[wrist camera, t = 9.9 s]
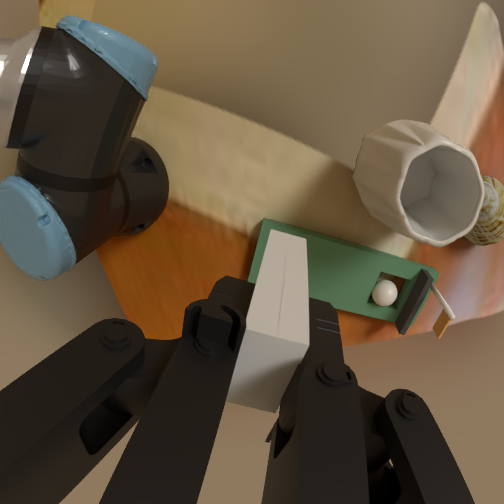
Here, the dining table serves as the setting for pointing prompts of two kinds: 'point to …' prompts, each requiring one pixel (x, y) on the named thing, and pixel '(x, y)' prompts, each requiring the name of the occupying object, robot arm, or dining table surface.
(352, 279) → the green
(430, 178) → the vase
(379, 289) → the ball
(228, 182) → the dining table surface
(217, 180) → the dining table surface
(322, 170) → the dining table surface
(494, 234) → the seashell
